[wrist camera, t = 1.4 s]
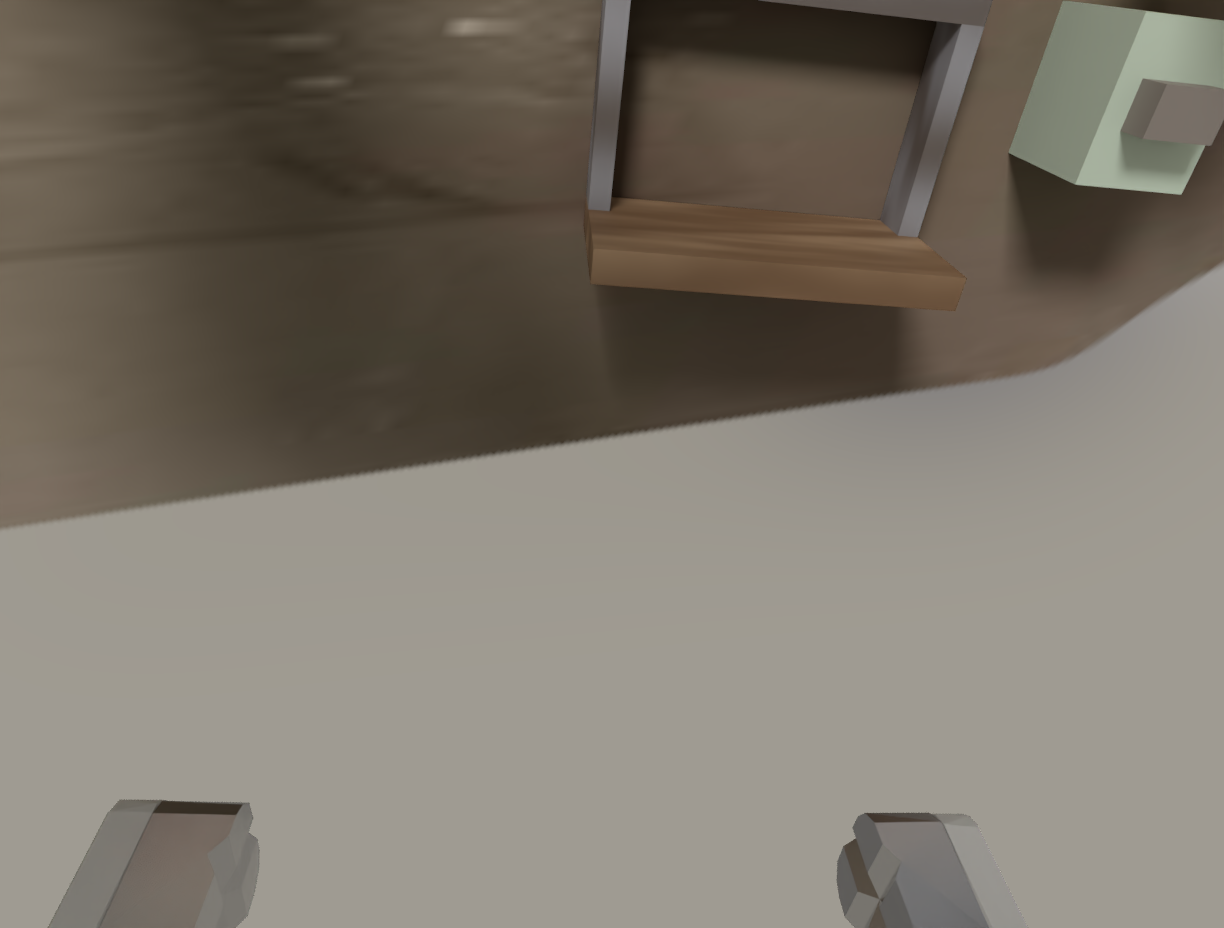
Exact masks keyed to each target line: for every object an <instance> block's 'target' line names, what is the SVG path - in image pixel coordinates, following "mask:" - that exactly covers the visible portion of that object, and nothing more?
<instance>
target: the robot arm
mask: <svg viewBox="0 0 1224 928" xmlns="http://www.w3.org/2000/svg"><path fill="white" fill-rule="evenodd" d="M252 820H253V815H252V812H251V808H250V804H249V803H237V802H191V801H190V802H188V801H187V802H186V801H166V800H119V801H118V802H117V803H116V805H115V806H114V807H113V808H112V809H111V810H110V811H109V812H108V813H107V815H106V817H105V819H104V821H103V823H102V825H101V826H100V828H99V830H98V832H97V834H96V836H95V838H94V840H93V842H92V844H91V846H90V848H89V850H88V851H87V853H86V855H85V857H84V859H83V861H82V863H81V865H80V867H79V869H78V871H77V872H76V875H75V877H74V878H73V880H72V882H71V884H70V886H69V888H68V890H67V892H66V894H65V896H64V897H63V899H62V901H61V903H60V905H59V907H58V909H57V911H56V913H55V915H54V917H53V919H52V921H51V923H50V924H49V926H48V928H236V927H237V926H238V925H239V924H240V923H241V922H242V921H243V920H244V919H245V918H246V917H247V916H248V912H249V909H250V906H251V903H252V899H253V896H254V892H255V888H256V882H257V876H258V871H259V851H260V850H259V845H258V840H257V838H256V837H254V836H253V835H251V834H250V833H249V829H250V826H251V823H252ZM853 830H854V833H855V836H856V839H854V840H853V841H851V842H849V843H848V844H846V845H845V846H843V849H842V851H841V854H840V856H839V859H838V863H837V886H838V892H839V898H840V902H841V905H842V909H843V912H844V916H845V918H846V919H847V920H848V921H849V922H850V923H851V924H852V925H853V926H854V927H855V928H1028V927H1027V925H1026V923H1025V921H1024V919H1023V917H1022V914H1021V912H1020V910H1019V908H1018V906H1017V904H1016V903H1015V900H1014V898H1013V896H1012V894H1011V892H1010V890H1009V888H1008V886H1007V884H1006V882H1005V880H1004V878H1003V876H1002V874H1001V872H1000V870H999V868H998V866H997V864H996V862H995V860H994V858H993V856H992V854H991V852H990V850H989V848H988V846H987V844H986V842H985V839H984V837H983V836H982V833H981V831H980V829H979V827H978V825H977V824H976V822H975V821H973V819H972V818H971V817H970V816H967V815H964V814H930V813H864V814H862V815H860V816H858V818H857V819H856V821H855V824H854V826H853Z"/></svg>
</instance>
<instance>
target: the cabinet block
mask: <svg viewBox="0 0 1224 928" xmlns="http://www.w3.org/2000/svg"><path fill="white" fill-rule="evenodd" d="M1223 121H1224V21H1223V20H1215V19H1208V18H1200V17H1192V16H1184V15H1177V14H1169V13H1161V12H1153V11H1144V10H1136V9H1128V8H1120V7H1112V6H1104V5H1095V4H1087V3H1079V2H1071V1H1063V3H1062V5H1061V8H1060V11H1059V14H1058V17H1057V19H1056V22H1055V25H1054V28H1053V30H1052V33H1051V36H1050V39H1049V42H1048V44H1047V47H1046V50H1045V53H1044V56H1043V58H1042V61H1041V64H1040V67H1039V69H1038V72H1037V75H1036V78H1035V81H1034V83H1033V86H1032V89H1031V92H1030V94H1029V97H1028V100H1027V103H1026V106H1025V108H1024V111H1023V114H1022V117H1021V119H1020V122H1019V125H1018V128H1017V131H1016V133H1015V136H1014V139H1013V142H1012V145H1011V147H1010V150H1009V153H1010V154H1012V155H1014V156H1016V157H1018V158H1020V159H1022V160H1025V161H1027V162H1029V163H1031V164H1033V165H1035V166H1037V167H1039V168H1041V169H1043V170H1045V171H1048V172H1050V173H1052V174H1054V175H1056V176H1058V177H1060V178H1062V179H1064V180H1066V181H1069V182H1071V183H1073V184H1075V185H1085V186H1095V187H1106V188H1116V189H1127V190H1137V191H1148V192H1158V193H1169V194H1180V195H1182V192H1183V190H1184V188H1185V186H1186V184H1187V182H1188V180H1189V178H1190V176H1191V174H1192V172H1193V170H1194V168H1195V166H1196V164H1197V162H1198V160H1199V158H1200V156H1201V153H1202V151H1203V149H1204V147H1205V145H1206V146H1211V145H1212V143H1213V141H1214V139H1215V137H1216V135H1217V133H1218V131H1219V129H1220V127H1221V125H1222V123H1223Z"/></svg>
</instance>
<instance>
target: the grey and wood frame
mask: <svg viewBox="0 0 1224 928" xmlns="http://www.w3.org/2000/svg"><path fill="white" fill-rule="evenodd" d="M760 1H768V2H777V3H785V4H794V5H803V6H811V7H820V8H828V9H837V10H845V11H854V12H862V13H871V14H879V15H888V16H897V17H905V18H914V19H922V20H931V21H937V23H936V27H935V30H934V34H933V37H932V41H931V44H930V48H929V51H928V55H927V58H926V62H925V65H924V69H923V72H922V76H921V79H920V82H919V86H918V89H917V93H916V96H915V100H914V103H913V107H912V110H911V114H910V117H909V121H908V124H907V128H906V131H905V135H904V138H903V142H902V145H901V149H900V152H899V156H898V159H897V163H896V166H895V169H894V173H893V176H892V180H891V183H890V187H889V190H888V194H887V197H886V201H885V204H884V208H883V211H882V215H881V218H880V220H873V219H861V218H850V217H838V216H827V215H815V214H804V213H792V212H781V211H769V210H758V209H746V208H735V207H723V206H712V205H700V204H689V203H677V202H666V201H654V200H643V199H631V198H620V197H611V194H612V184H613V174H614V164H615V154H616V144H617V134H618V124H619V114H620V104H621V94H622V84H623V74H624V64H625V54H626V44H627V34H628V24H629V14H630V4H631V0H602V10H601V22H600V34H599V46H598V58H597V70H596V83H595V95H594V107H593V119H592V131H591V143H590V155H589V167H588V179H587V191H586V203H585V215H584V232H585V241H586V250H587V258H588V267H589V276H590V284H597V285H610V286H623V287H637V288H650V289H664V290H677V291H691V292H704V293H717V294H731V295H744V296H758V297H771V298H784V299H798V300H811V301H825V302H838V303H852V304H865V305H878V306H892V307H905V308H919V309H932V310H945V311H955V310H956V308H957V305H958V302H959V299H960V296H961V294H962V291H963V288H964V285H965V283H966V280H967V278H966V277H965V276H964V275H962V274H961V273H960V272H959V271H958V270H956V269H955V268H954V267H953V266H952V265H950V264H949V263H948V262H947V261H946V260H944V259H943V258H942V257H941V256H939V255H938V254H937V253H936V252H935V251H933V250H932V249H931V248H930V247H929V246H927V245H926V244H925V243H924V242H923V241H921V240H920V239H919V238H918V234H919V231H920V228H921V225H922V222H923V218H924V215H925V212H926V209H927V206H928V203H929V200H930V196H931V193H932V190H933V187H934V184H935V181H936V177H937V174H938V171H939V168H940V165H941V162H942V159H943V155H944V152H945V149H946V146H947V143H948V140H949V136H950V133H951V130H952V127H953V124H954V121H955V118H956V114H957V111H958V108H959V105H960V102H961V99H962V95H963V92H964V89H965V86H966V83H967V80H968V77H969V73H970V70H971V67H972V64H973V61H974V58H975V54H976V51H977V48H978V45H979V42H980V39H981V36H982V32H983V29H984V26H985V23H986V20H987V17H988V13H989V10H990V7H991V4H992V1H993V0H760Z"/></svg>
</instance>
